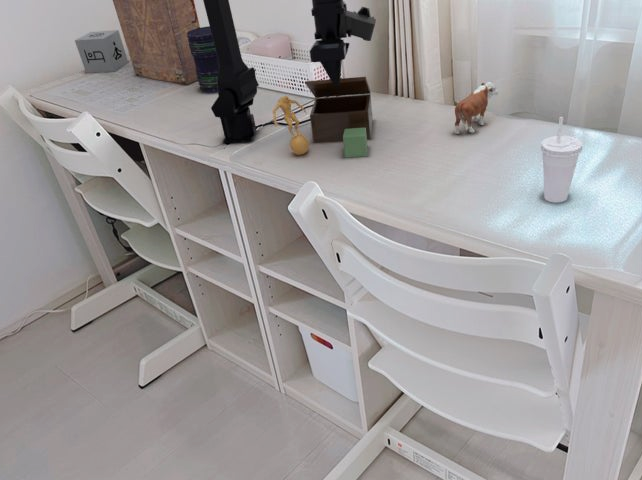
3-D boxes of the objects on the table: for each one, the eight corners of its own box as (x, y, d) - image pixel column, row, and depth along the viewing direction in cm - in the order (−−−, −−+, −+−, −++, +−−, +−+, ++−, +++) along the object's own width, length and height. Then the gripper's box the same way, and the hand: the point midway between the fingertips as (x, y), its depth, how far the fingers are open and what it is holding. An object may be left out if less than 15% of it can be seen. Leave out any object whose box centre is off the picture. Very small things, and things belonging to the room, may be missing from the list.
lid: (365, 80, 124) (365, 76, 124) (305, 84, 125) (305, 81, 125) (370, 93, 135) (370, 90, 135) (315, 97, 137) (315, 94, 137)
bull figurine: (500, 118, 133) (502, 80, 128) (464, 139, 126) (465, 100, 121) (483, 114, 136) (484, 77, 131) (447, 135, 128) (447, 96, 123)
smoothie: (530, 191, 106) (537, 112, 97) (567, 186, 106) (577, 107, 97) (543, 208, 101) (551, 126, 92) (581, 203, 101) (593, 121, 92)
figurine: (292, 163, 125) (282, 105, 118) (273, 156, 128) (262, 100, 121) (321, 148, 129) (313, 92, 122) (302, 142, 133) (294, 87, 126)
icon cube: (86, 72, 197) (74, 40, 191) (101, 63, 205) (90, 31, 199) (114, 71, 195) (103, 38, 189) (128, 61, 203) (118, 30, 197)
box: (370, 139, 131) (368, 110, 127) (313, 142, 132) (309, 114, 129) (372, 121, 139) (370, 93, 135) (319, 124, 141) (315, 97, 137)
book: (135, 75, 189) (101, -34, 171) (159, 66, 194) (129, -40, 176) (187, 85, 175) (157, -32, 157) (211, 75, 181) (184, -39, 163)
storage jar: (218, 79, 176) (203, 13, 166) (242, 83, 171) (228, 14, 160) (192, 91, 170) (175, 22, 159) (217, 95, 165) (200, 24, 154)
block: (345, 157, 124) (342, 137, 122) (346, 148, 128) (344, 128, 125) (366, 156, 124) (364, 135, 121) (367, 147, 127) (365, 127, 125)
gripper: (368, 7, 103) (375, 98, 113) (373, -15, 118) (379, 67, 128) (304, 13, 105) (316, 103, 114) (316, -10, 119) (326, 72, 129)
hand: (336, 85), depth 121 cm, fingers closed
